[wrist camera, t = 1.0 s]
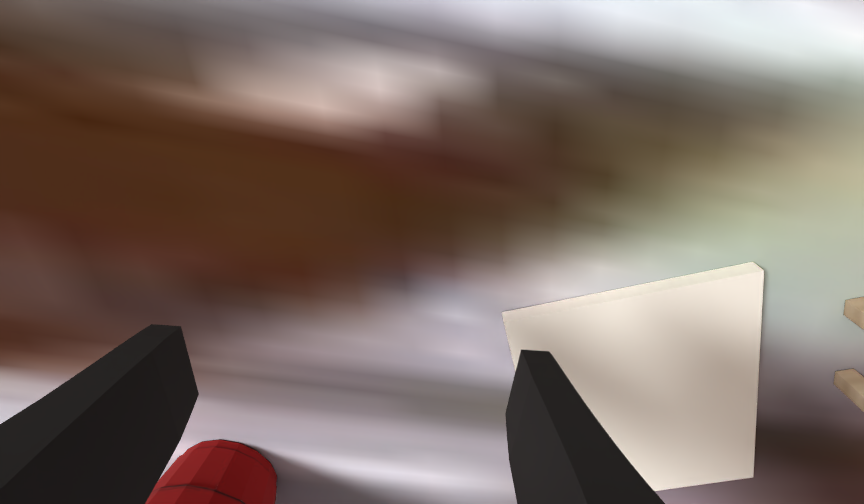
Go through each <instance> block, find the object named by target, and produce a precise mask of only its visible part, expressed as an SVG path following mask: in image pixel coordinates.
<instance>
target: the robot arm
mask: <svg viewBox="0 0 864 504" xmlns="http://www.w3.org/2000/svg"><path fill="white" fill-rule="evenodd" d="M198 395H199V394H198V390H197V386H196V382H195V378H194V375H193V371H192V367H191V363H190V359H189V356H188V352H187V348H186V344H185V340H184V337H183V333H182V329H181V326H168V325H153V324H151V325H150V326H148V327H147V328H145V329H143V330H142V331H140V332H139V333H137V334H136V335H134V336H133V337H131V338H130V339H128V340H127V341H125V342H124V343H122V344H121V345H119V346H118V347H116V348H115V349H114V350H112V351H111V352H109V353H108V354H106V355H105V356H103V357H102V358H100V359H99V360H98V361H96V362H95V363H93V364H92V365H90V366H89V367H87V368H86V369H84V370H83V371H81V372H80V373H78V374H77V375H75V376H74V377H73V378H71V379H70V380H68V381H67V382H65V383H64V384H62V385H61V386H59V387H58V388H56V389H55V390H53V391H52V392H50V393H49V394H47V395H46V396H44V397H43V398H41V399H40V400H38V401H37V402H35V403H33V404H32V405H30V406H29V407H27V408H25V409H24V410H22V411H21V412H19V413H18V414H16V415H14V416H13V417H11V418H10V419H8V420H6V421H5V422H3V423H2V424H0V504H145V503H146V501H147V499H148V498H149V496H150V494H151V492H152V490H153V489H154V487H155V485H156V483H157V482H158V480H159V478H160V476H161V474H162V473H163V471H164V469H165V467H166V465H167V463H168V462H169V460H170V458H171V456H172V454H173V453H174V451H175V449H176V447H177V445H178V443H179V441H180V439H181V437H182V435H183V432H184V430H185V427H186V425H187V423H188V420H189V418H190V415H191V413H192V410H193V408H194V405H195V402H196V400H197V397H198ZM506 427H507V441H508V452H509V461H510V467H511V472H512V478H513V483H514V488H515V493H516V499H517V504H665V503H664V502H663V501H662V500H661V499H660V497H659V496H658V495H657V494H656V493H655V492H654V490H653V489H652V488H651V487H650V486H649V485H648V483H647V482H646V481H645V480H644V479H643V477H642V476H641V475H640V474H639V473H638V471H637V470H636V469H635V468H634V466H633V465H632V464H631V463H630V462H629V460H628V459H627V458H626V457H625V455H624V454H623V453H622V452H621V450H620V449H619V448H618V446H617V445H616V444H615V443H614V441H613V440H612V439H611V437H610V436H609V435H608V433H607V432H606V431H605V429H604V428H603V427H602V425H601V424H600V423H599V421H598V420H597V419H596V417H595V416H594V415H593V413H592V412H591V410H590V409H589V408H588V406H587V405H586V403H585V402H584V401H583V399H582V398H581V396H580V395H579V393H578V392H577V391H576V389H575V388H574V386H573V385H572V383H571V382H570V380H569V379H568V377H567V376H566V374H565V373H564V371H563V370H562V368H561V367H560V366H559V364H558V363H557V361H556V360H555V358H554V357H553V355H552V354H551V353H550V352H549V351H537V350H522V349H521V352H520V356H519V360H518V364H517V368H516V372H515V377H514V381H513V385H512V389H511V393H510V397H509V401H508V405H507V409H506Z"/></svg>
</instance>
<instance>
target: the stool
mask: <svg viewBox="0 0 864 504" xmlns="http://www.w3.org/2000/svg"><path fill="white" fill-rule="evenodd" d="M844 315H845V316H846V317H847V318H849V319H850V320H851V321H853V322H854V323H855V324H857V325H858V326H859V327H861V328H862V329H864V297H860V298H855V299H849V300H846V301H845V308H844ZM834 385H835V386H836V387H838V388H839V389H840V390H841V391H842V392H843V393H844V394H845V395H846V396H847V397H848V398H849V399H850V400H851V401H852V402H853V403H854V404H856V405H857V406H858V407H859V408H860V409H861V410H862V411H863V412H864V377H863V376H862V375H860V374H859V373H858V372H857V371H856V370H855V369H847V370H841V371H835V377H834Z"/></svg>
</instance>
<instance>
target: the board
mask: <svg viewBox="0 0 864 504" xmlns="http://www.w3.org/2000/svg"><path fill="white" fill-rule="evenodd" d="M763 281H764V270H763V269H761V268H760V267H759V266H758V265H756V264H755V263H754V262H749V263H744V264H739V265H734V266H729V267H724V268H719V269H714V270H709V271H704V272H699V273H694V274H689V275H684V276H679V277H674V278H669V279H664V280H659V281H654V282H650V283H645V284H640V285H635V286H630V287H625V288H620V289H615V290H610V291H605V292H600V293H595V294H590V295H585V296H580V297H575V298H570V299H565V300H560V301H555V302H550V303H545V304H540V305H535V306H530V307H525V308H520V309H515V310H510V311H505V312H502V316H503V322H504V326H505V330H506V334H507V338H508V343H509V347H510V351H511V355H512V359H513V364H514V368H515V372H516V368H517V364H518V360H519V356H520V352H521V349H522V350H537V351H549V352H550V353H551V354H552V355H553V357H554V358H555V360H556V361H557V363H558V364H559V366H560V367H561V368H562V370H563V371H564V373H565V374H566V376H567V377H568V379H569V380H570V382H571V383H572V385H573V386H574V388H575V389H576V391H577V392H578V393H579V395H580V396H581V398H582V399H583V401H584V402H585V403H586V405H587V406H588V408H589V409H590V410H591V412H592V413H593V415H594V416H595V417H596V419H597V420H598V421H599V423H600V424H601V425H602V427H603V428H604V429H605V431H606V432H607V433H608V435H609V436H610V437H611V439H612V440H613V441H614V443H615V444H616V445H617V446H618V448H619V449H620V450H621V452H622V453H623V454H624V455H625V457H626V458H627V459H628V460H629V462H630V463H631V464H632V465H633V466H634V468H635V469H636V470H637V471H638V473H639V474H640V475H641V476H642V477H643V479H644V480H645V481H646V482H647V483H648V485H649V486H650V487H651V488H652V489H653V490H654V491H658V490H666V489H673V488H680V487H687V486H694V485H702V484H709V483H716V482H723V481H730V480H738V479H745V478H752V477H753V472H754V453H755V434H756V415H757V396H758V377H759V358H760V339H761V320H762V301H763Z"/></svg>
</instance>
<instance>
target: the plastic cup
mask: <svg viewBox="0 0 864 504" xmlns="http://www.w3.org/2000/svg"><path fill="white" fill-rule="evenodd" d="M276 482H277V475H276V473H275V471H274V469H273V467H272V465H271V463H270V462H269V461H268V460H267V459H266V458H264V457H263V456H262V455H261V454H260V453H259V452H258V451H256V450H253V449H251V448H249V447H247V446H245V445H243V444H241V443H236V442H230V441H224V440H213V441H204V442H200V443H198V444H197V445H195V446H193V447H191V448H189V449H188V450H187V451H186V452H185V453H184V454H183V455H181V456H179V457H178V458H177V460H176V461H175V462H174V463H173V464H172V465H171V467H170V468H169V469H168V470H167V471H166V472H165V474H164V475H163V476H162V477H161V478H160V479H159V481H158V482H157V483H156V485H155V487H154V489H153V490H152V492H151V494H150V496H149V498H148V499H147V501H146V503H145V504H275V500H276V489H277V486H276Z"/></svg>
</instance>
